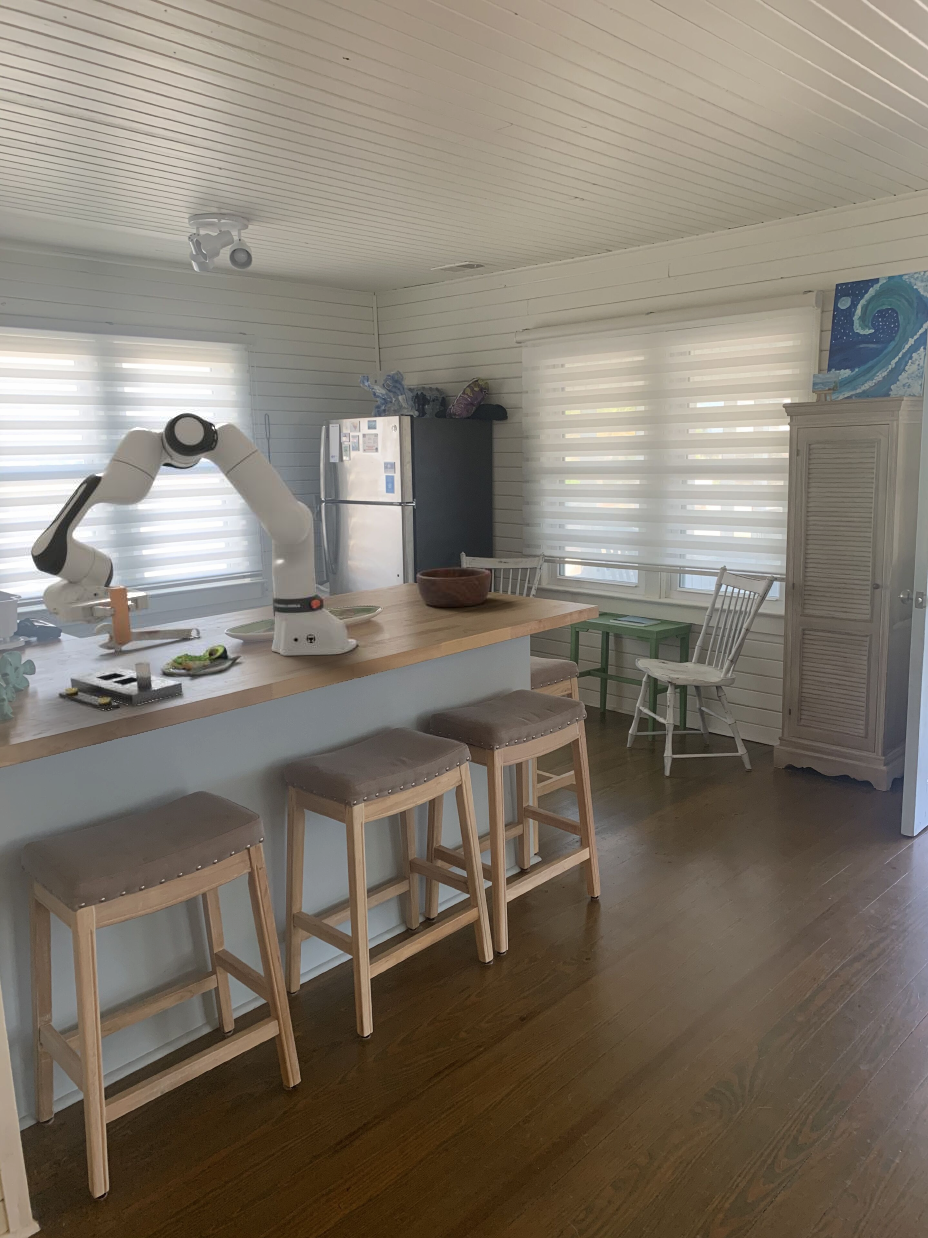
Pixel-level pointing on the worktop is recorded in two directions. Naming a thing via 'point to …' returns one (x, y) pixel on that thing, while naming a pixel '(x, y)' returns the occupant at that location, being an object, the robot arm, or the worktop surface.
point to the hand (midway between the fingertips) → (122, 609)
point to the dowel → (120, 615)
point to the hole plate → (121, 687)
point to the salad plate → (201, 662)
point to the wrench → (142, 635)
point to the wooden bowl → (454, 586)
